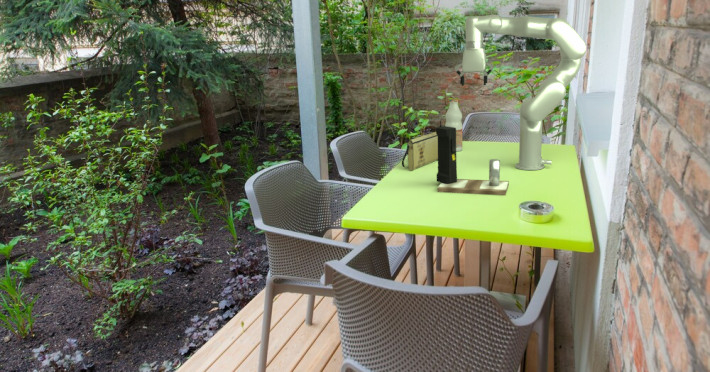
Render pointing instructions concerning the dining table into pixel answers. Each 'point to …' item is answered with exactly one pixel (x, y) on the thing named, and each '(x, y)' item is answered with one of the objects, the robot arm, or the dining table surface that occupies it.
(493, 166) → the pin
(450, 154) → the portable radio
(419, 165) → the clutch purse
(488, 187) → the board
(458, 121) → the fruit juice
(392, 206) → the dining table surface
